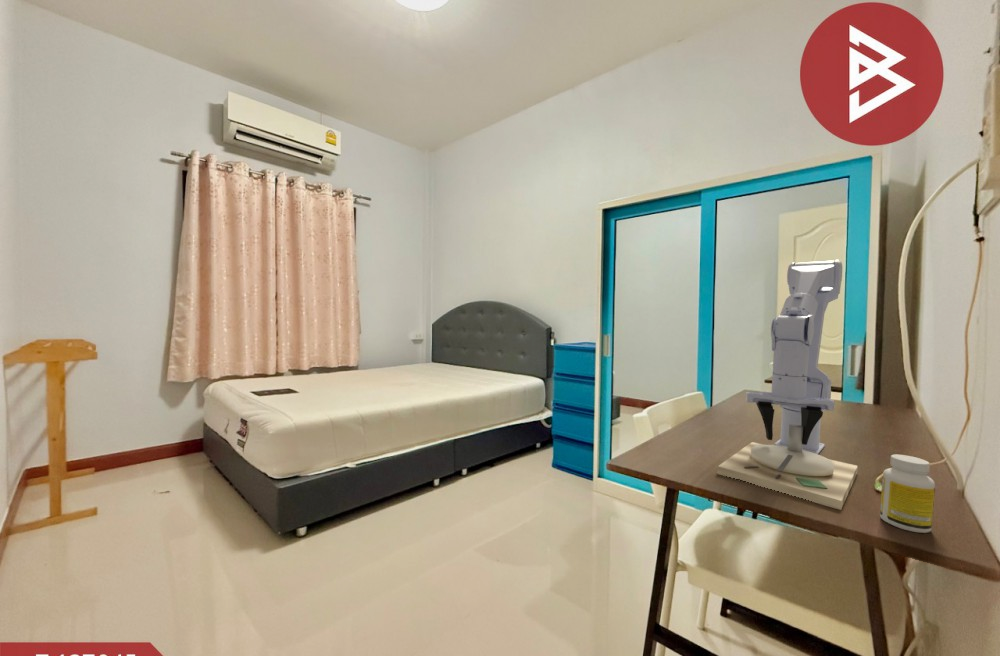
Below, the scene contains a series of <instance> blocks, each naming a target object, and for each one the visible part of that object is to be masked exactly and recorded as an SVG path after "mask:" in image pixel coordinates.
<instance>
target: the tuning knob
mask: <svg viewBox="0 0 1000 656" xmlns="http://www.w3.org/2000/svg"><path fill="white" fill-rule="evenodd" d="M803 429H804V427H803V426H801V425H797V424H789V431H788V447H786V446H779V445H775V444H764V445H756V446H753V447H752V448H751V457H752V458H753V459H754V460H755V461H757V462H759V463H761V464H763V465H765V466H768V467H771V468H774V469H777V471H779V472H782V471H784V472H789V473H794V474H800V475H807V476H827V475H831V474H833V472H834V464H833V462H832V461H830V460H831V459H830V458H827V457H825V456H823V455H820V454H815V453H812V452H809V451H805V450H802V445H803V444H802V440H803ZM829 459H830V460H829Z"/></svg>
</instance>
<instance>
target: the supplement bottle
mask: <svg viewBox="0 0 1000 656" xmlns="http://www.w3.org/2000/svg"><path fill="white" fill-rule="evenodd" d="M890 466H892V467H890V468H886V469H885V470H884V471H883V473H882V480H881V481H882V482H881V483H882V484H881V497H880V508H879V516H880V519H882V520H883V521H884V522H886V523H887V524H889V525H891V526H893V527H896V528H899V529H901V530H905V531H907V532H914V533H923V534H927V533H930V532H931V531H932V528H933V527H932V526H933V517H934V503H935V493H936V492H935V491H936V483H935V481H934V480H933V478H931V476H928V475H927V474H929V473H930V466H931V465H930V462H929V461H927V460H925V459H923V458H919V457H915V456H912V455H905V454H897V453H896V454H894V453H893V454H892V455H890Z"/></svg>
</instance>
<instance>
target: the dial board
mask: <svg viewBox="0 0 1000 656" xmlns="http://www.w3.org/2000/svg"><path fill="white" fill-rule="evenodd" d="M756 445H765V444H763V443H758V442H755V441H751V442H749V443H748V444H747V445H746V446H744V447H742V448H741V449H740V450H738V451H737V452H736V453H734V454H733V455H731V456H730V457H729V458H727V459H726V460H724V461H722V463H721V464H719V465H718V466H717V472H716V474H717V475H718V476H719V475H720V476H723V477H726V476H727V478H729V477H731V478H730V479H733V478H735V479H734V480H736V479H740V480H743V481H746V482H745V483H747V482H749V483H748V484H750V483H752V484H751V485H753V484H755V485H754V486H757V485H758V486H757V487H760V486H761V488H764V487H765V488H764V489H767V488H768V489H767V490H770V489H772V490H771V491H774V490H775V491H774V492H777V491H779V492H778V493H781V492H782V493H781V494H784V493H786V494H785V495H787V494H789V495H788V496H791V495H792V496H791V497H794V496H796V497H795V498H798V497H799V498H798V499H801V498H803V499H802V500H805V499H806V501H808V500H809V501H808V502H811V501H812V503H816V504H818V505H821V506H826V507H829V508H832V509H836V510H839V511H842V509H843V507H844V504H845V502H846V500H847V497H848V495H849V494H850V490H851V489H852V486H853V484H854V481H855V480H856V477H857V474H858V465H856V464H852V463H847V462H844V461H839V460H834V459H830V458H828V459H829V460H830V461H832V462H833V464H834V472H833V474H831V475H827V476H807V475H800V474H794V473H789V472H784V471H782V472H779V471H777V469H774V468H771V467H768V466H765V465H763V464H761V463H759V462H757V461H755V460H754V459H753V458H752V457H751V448H752V447H753V446H756ZM740 480H739V481H740ZM743 481H742V482H743Z"/></svg>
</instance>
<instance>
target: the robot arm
mask: <svg viewBox="0 0 1000 656" xmlns="http://www.w3.org/2000/svg"><path fill="white" fill-rule="evenodd" d="M786 272H787V273H786V281H787V285H788V290H789V294H790V295H789V296H788V297H787V298H786V299H785V301H784V303H783V305H782V309H781V311H780V314H779V315H778V316H777V317H773V319H772V322H771V326H770V337H771V351H772V352H773V358H772V359H773V360H772V376H771V380H772V381H771V392H758V391H757V392H756V391H754V392H753V391H746V392H745V401H746V403H750V404H753V403H756V405H757V408H758V411H759V413H760V415H761V418H762V422H763V424H764V429H765V436H766V439H767V440H768V441H773V437H774V435H773V423H774V416H775V408H774V405H777V406H779V407H780V408H781V421H780V422H781V423H780V437H779V438H780V439H778V440H777V441H776V442H774V445H779V446H786V447H788V431H789V424H797V425H801V426H803V427H804V429H803V440H802V444H803V445H802V450H805V451H809V452H812V453H815V454H818V455H820V453H821V451H823V449H824V448H825V445H826V444H825V443H822V442H820V438H821V437H820V436H821V423H822V420H821V419H822V418H823V415H824V412H826V411H830V412H834V411H835V404H836V403H835V400H833V399H831V396H832V388H831V387H832V381H831V378H830V376H829V375H828V374H826V373H825V372H824V371H822V370H821V369H820V368H818V364H819V358H820V350H821V342H822V334H823V327H824V320H825V313H826V311H827V308H828V305H829V303H830V302H833V301H835V300H838V299H839V295H840V293H841V285H842V280H843V279H842V278H843V262H842V261H840V259H835V260H825V261H824V260H823V261H807V262H796V261H793V262H791V263H790V264H789V265H788V266H787V271H786Z"/></svg>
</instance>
